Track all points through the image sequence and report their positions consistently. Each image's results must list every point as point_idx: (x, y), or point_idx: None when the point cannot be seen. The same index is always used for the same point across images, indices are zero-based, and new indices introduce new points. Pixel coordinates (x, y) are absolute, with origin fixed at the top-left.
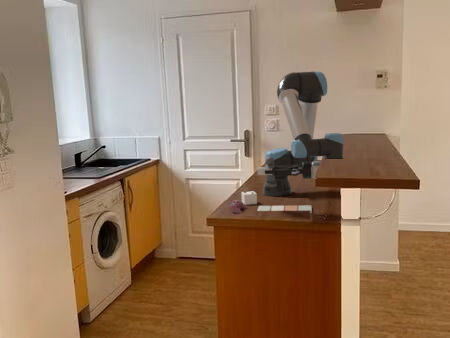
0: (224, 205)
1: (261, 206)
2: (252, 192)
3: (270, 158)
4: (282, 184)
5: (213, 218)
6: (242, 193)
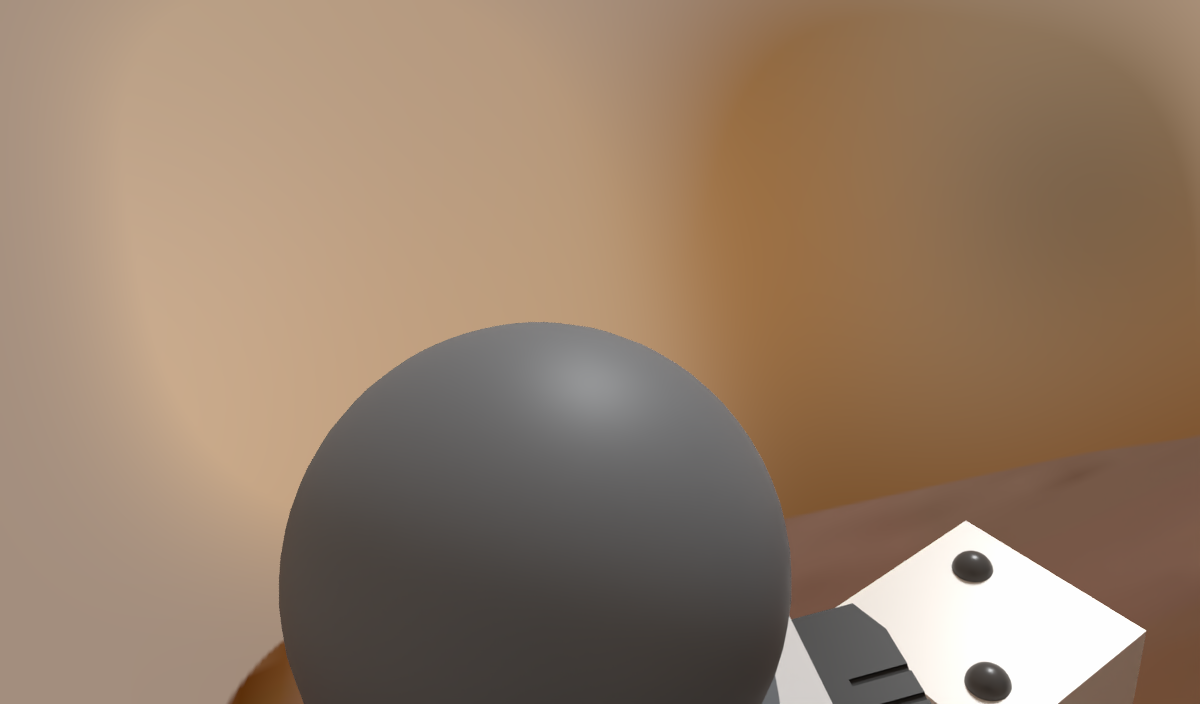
0: (821, 515)
1: None
2: (976, 672)
3: (308, 517)
4: None
5: (280, 649)
6: (914, 558)
